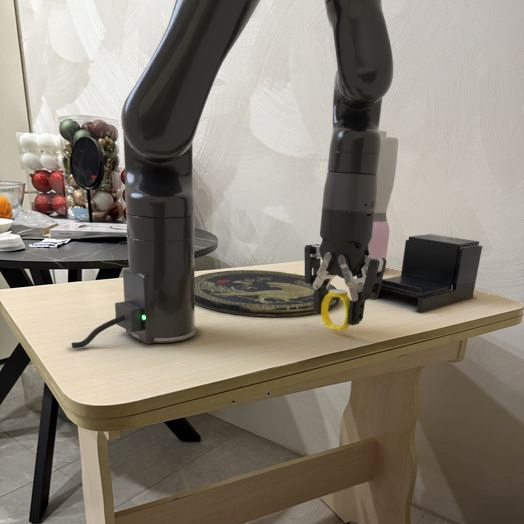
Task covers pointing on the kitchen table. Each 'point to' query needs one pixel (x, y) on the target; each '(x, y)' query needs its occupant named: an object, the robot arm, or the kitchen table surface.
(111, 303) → the kitchen table surface
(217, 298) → the decorative plate
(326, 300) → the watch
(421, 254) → the black stepped block
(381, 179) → the blender
